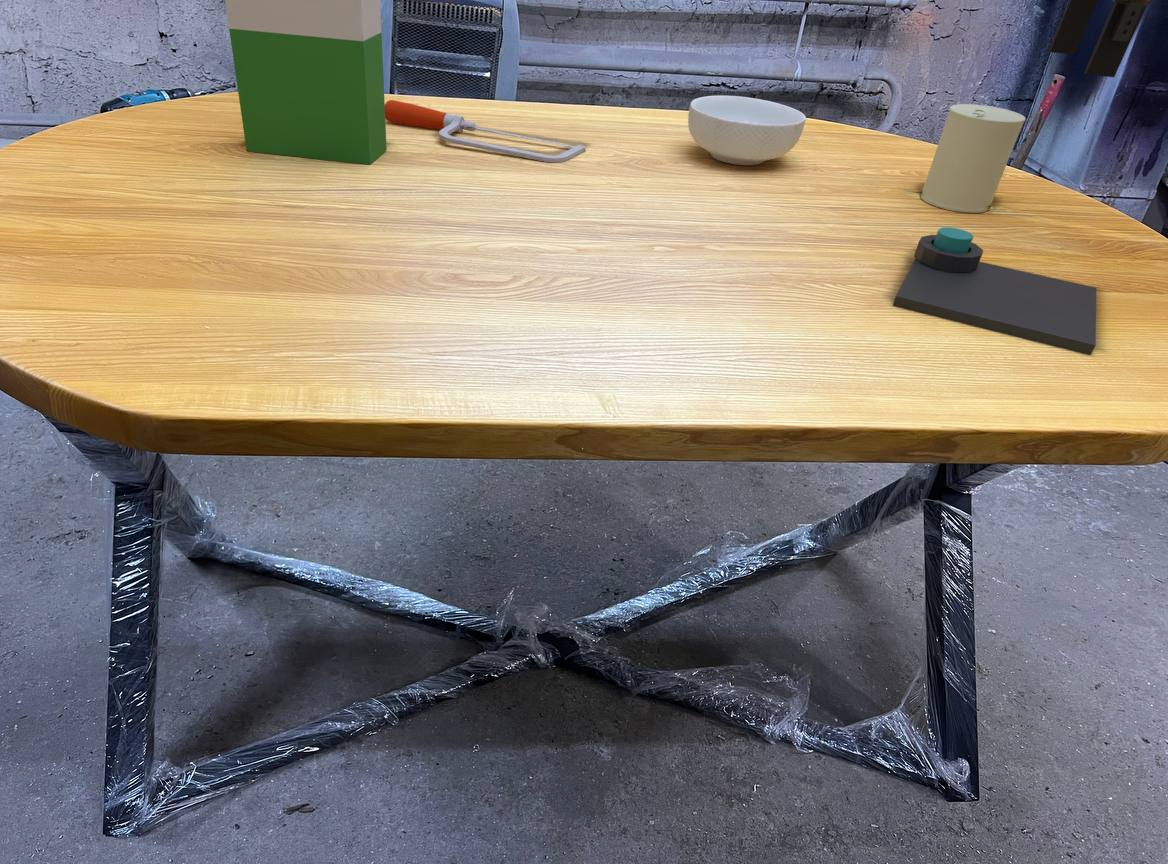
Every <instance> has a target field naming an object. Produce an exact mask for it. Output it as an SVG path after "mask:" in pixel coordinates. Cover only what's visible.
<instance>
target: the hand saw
mask: <svg viewBox="0 0 1168 864" xmlns="http://www.w3.org/2000/svg"><path fill="white" fill-rule="evenodd" d="M385 121H387V122H390V123H394V124H400V125H407V126H413V127H420V128H427V129H434V130H435V129H436V130H439V131H438V138H439V139H440V140H442V141H444V142H447V143H450V144H456V145H460V146H466V147H470V148H476V149H479V150H480V149H481V150H484V151H485V150H486V151H490V152H495V153H499V154H504V155H510V156H515V157H520V158H524V159H529V160H535V161H539V162H545V163H564V162H567V161H568V160H570V159H572V158H574V157H576V156H579V155H580V154H582V153H583V152H586V151H587V146H586V145H582V144H577V145H571V144H565V143H561V142H557V141H551V140H546V139H540V138H535V137H530V136H526V135H520V134H515V133H509V132H504V131H501V130H500V131H499V130H495V129H490V128H484V127H479V126H476V125H477V124H476V122H475V121H474V122H473V121H469V120H465V117H464V116H463V115H458V114H452V113H451V114H450V113H447V112H443V111H440V110H436V109H432V108H429V107H426V106H421V105H417V104H414V103H409V102H404V101H399V100H396V99H395V100H394V99H389V100H387V101H386V102H385ZM476 129H477V130H481V131H488V132H493V133H497V134H500V135H501V134H502V135H506V136H507V135H508V136H511V137H518V138H522V139H523V138H524V139H528V140H534V141H537V142H538V141H539V142H543V143H548V144H554V145H559V146H565V147H568V148H570V149H568V150H566V151H564V152H562V153H560V154H556V155H549V154H543V153H539V152H533V151H529V150H524V149H518V148H512V147H508V146H503V145H497V144H493V143H489V142H483V141H478V140H473V139H469V138H462V137H457V136H453V135H451V134H453V133H459V134H462V133H463V131H464V130H465V131H467V132H468V131H469V132H475V130H476Z"/></svg>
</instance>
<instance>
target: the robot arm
mask: <svg viewBox="0 0 1168 864" xmlns="http://www.w3.org/2000/svg"><path fill="white" fill-rule="evenodd" d="M1098 1H1099V0H1068V1H1067V4H1066V6H1065V9H1064V11H1063V14H1062V16H1061V18H1060V21H1059V23H1058V26H1057V29H1056V31H1055V33H1054V36H1053V38H1052V41H1051V44H1050V45H1049V49H1048V52H1049V53H1054V54H1055V53H1056V54H1064V55H1073V56H1074V55H1076V53H1077V51H1078V48H1079V46H1080V43H1081V41H1082V39H1083V37H1084V34H1085V31H1086V29H1087V27H1088V24H1089V22H1090V20H1091V18H1092V15H1093V13H1094V10H1095V8H1096V5H1097V3H1098ZM1111 1H1112V3H1113V5H1112V7H1111V9H1110V12H1109V14H1108V16H1107V19H1106V21H1105V24H1104V26H1103V28H1102V30H1101V32H1100V35H1099V37H1098V39H1097V42H1096V43H1095V46H1094V49H1093V51H1092V53H1091V56H1090V58H1089V61H1088V62H1087V65H1086V67H1085V70H1084V72H1083V74H1085V75H1089V76H1097V77H1108V78H1115V77H1116V74H1117V72H1118V70H1119V68H1120V65H1121V64H1122V61H1123V59H1124V57H1125V54H1126V53H1127V51H1128V48H1129V45H1130V43H1131V41H1132V39H1133V37H1134V34H1135V32H1136V30H1137V28H1138V26H1139V23H1140V21H1141V19H1142V18H1143V15H1144V13H1145V10H1146V8H1147V6H1149V5H1151V3H1152V2H1153V0H1111Z"/></svg>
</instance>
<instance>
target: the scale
mask: <svg viewBox="0 0 1168 864" xmlns="http://www.w3.org/2000/svg"><path fill="white" fill-rule="evenodd" d="M936 235H937V234H929V235H924V236H921V237H920V239H919V241H918V243H917V246H916V249H915V252H914V255H913V257H914V261H913V262H912V264H911V266H910V268H909V270H908V272H907V273H906V275H905V278H904V279H903V281H902V284H901V286H900V287H899V289H898V291H897V293H896V295H895V298H894V301H893V303H892V306H893V307H896V308H899V309H904V310H908V311H911V312H915V313H919V314H924V315H928V316H931V317H934V318H935V317H936V318H940V319H942V320H943V319H944V320H946V321H947V320H948V321H952V322H956V323H960V324H963V325H968V326H972V327H976V328H979V329H983V330H988V331H992V332H995V333H999V334H1003V335H1007V336H1011V337H1015V338H1019V339H1023V340H1027V341H1031V342H1036V343H1039V344H1043V345H1046V346H1050V347H1055V348H1058V349H1064V350H1066V351H1071V352H1074V353H1077V354H1078V353H1079V354H1083V355H1086V356H1091V355H1092V353H1093V351H1095V348H1096V345H1097V287H1094V286H1090V285H1085V284H1082V283H1081V284H1080V283H1077V282H1072V281H1067V280H1064V279H1059V278H1055V277H1050V276H1045V275H1041V274H1036V273H1033V272H1032V273H1031V272H1028V271H1023V270H1019V269H1014V268H1010V267H1007V266H1006V267H1005V266H1001V265H996V264H993V263H989V262H988V263H987V262H982V261H981V259H982V256H983V253H984V249H983V248H981V247H980V246H979V245H978V244H976V243H975V242H973V241H972V242H971V245H970V247H969V250H968V252H967V253H953V252H949V251H945V250H941V249H939V248H936V247H935V246H934V245H933V243H934V240H935V238H936Z"/></svg>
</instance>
